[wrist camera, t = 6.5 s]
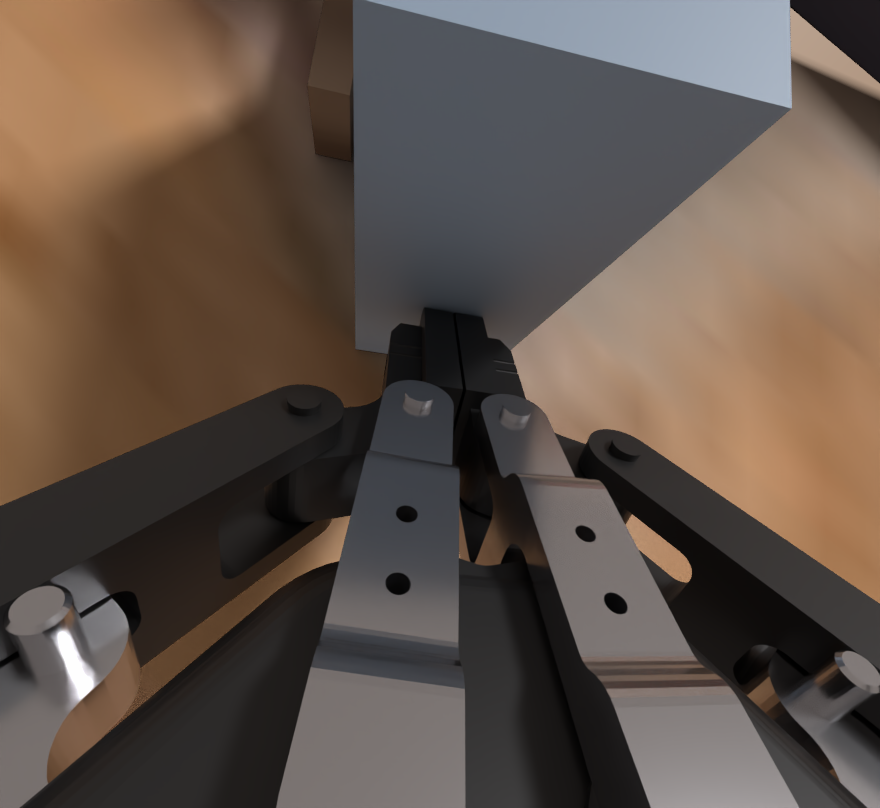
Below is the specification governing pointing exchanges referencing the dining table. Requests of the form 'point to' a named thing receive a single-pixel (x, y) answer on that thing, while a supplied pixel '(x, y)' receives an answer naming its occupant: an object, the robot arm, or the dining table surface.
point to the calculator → (847, 27)
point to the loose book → (539, 142)
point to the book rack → (333, 82)
